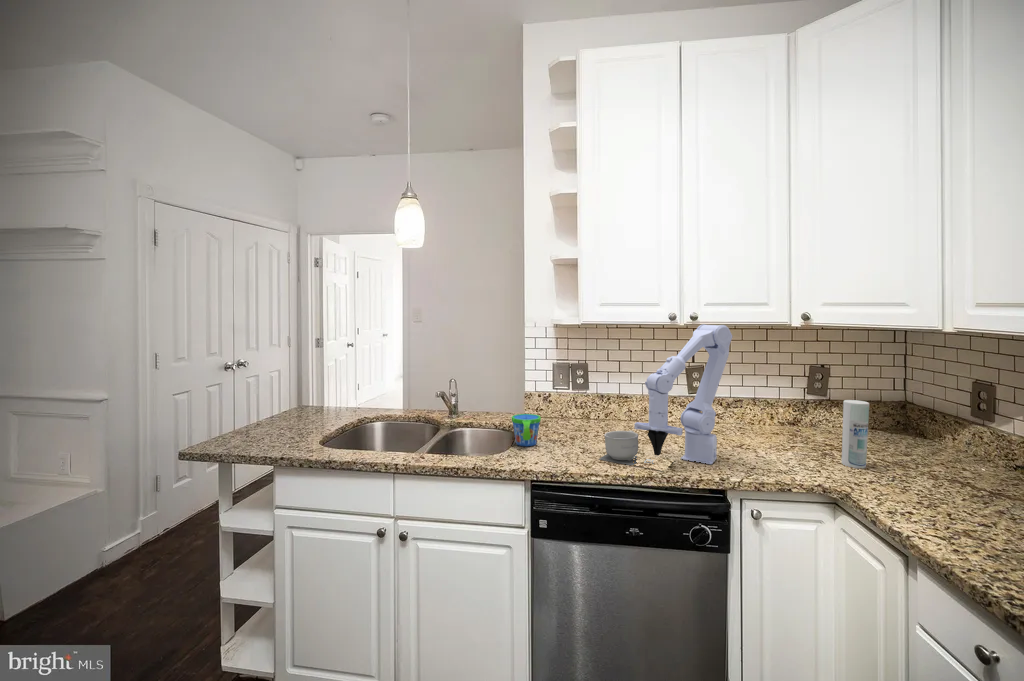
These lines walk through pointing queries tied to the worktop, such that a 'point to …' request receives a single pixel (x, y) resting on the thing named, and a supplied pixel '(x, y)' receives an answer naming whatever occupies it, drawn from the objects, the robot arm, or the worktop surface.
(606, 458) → the label mat
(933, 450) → the worktop surface
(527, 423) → the snack cup
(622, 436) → the teacup
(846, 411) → the spray can
